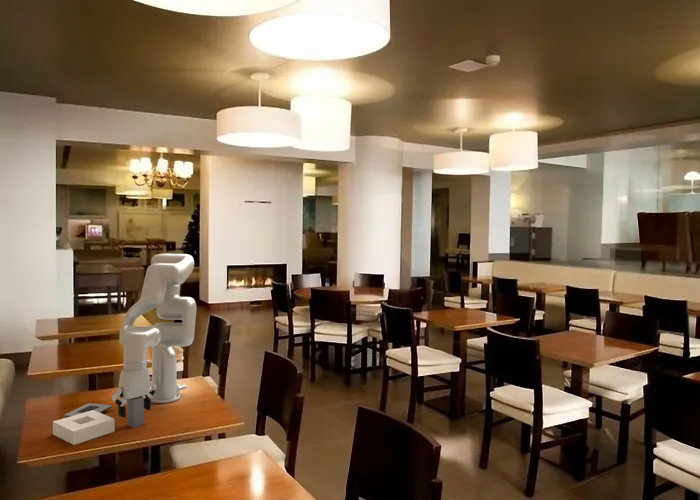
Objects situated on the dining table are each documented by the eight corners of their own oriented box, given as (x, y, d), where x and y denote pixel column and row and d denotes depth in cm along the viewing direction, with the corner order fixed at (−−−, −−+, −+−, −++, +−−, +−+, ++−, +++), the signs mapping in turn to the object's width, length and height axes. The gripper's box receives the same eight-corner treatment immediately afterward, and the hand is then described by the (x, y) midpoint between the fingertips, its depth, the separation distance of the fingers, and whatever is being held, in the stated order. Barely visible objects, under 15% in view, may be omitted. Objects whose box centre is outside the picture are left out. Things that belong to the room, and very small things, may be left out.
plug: (137, 421, 190) (137, 390, 189) (143, 424, 187) (143, 392, 187) (127, 425, 186) (127, 393, 186) (133, 427, 184) (133, 395, 184)
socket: (93, 422, 189) (93, 410, 188) (114, 431, 180) (114, 418, 180) (53, 434, 177) (52, 421, 177) (73, 445, 169) (73, 431, 169)
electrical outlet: (88, 423, 189) (88, 416, 189) (63, 420, 191) (63, 414, 191) (112, 410, 202) (112, 404, 201) (88, 408, 204) (88, 402, 204)
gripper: (150, 359, 195) (150, 404, 195) (106, 368, 181) (106, 417, 181) (162, 362, 191) (162, 408, 191) (118, 372, 176) (117, 422, 177)
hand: (134, 412), depth 186 cm, fingers open, 9 cm apart
